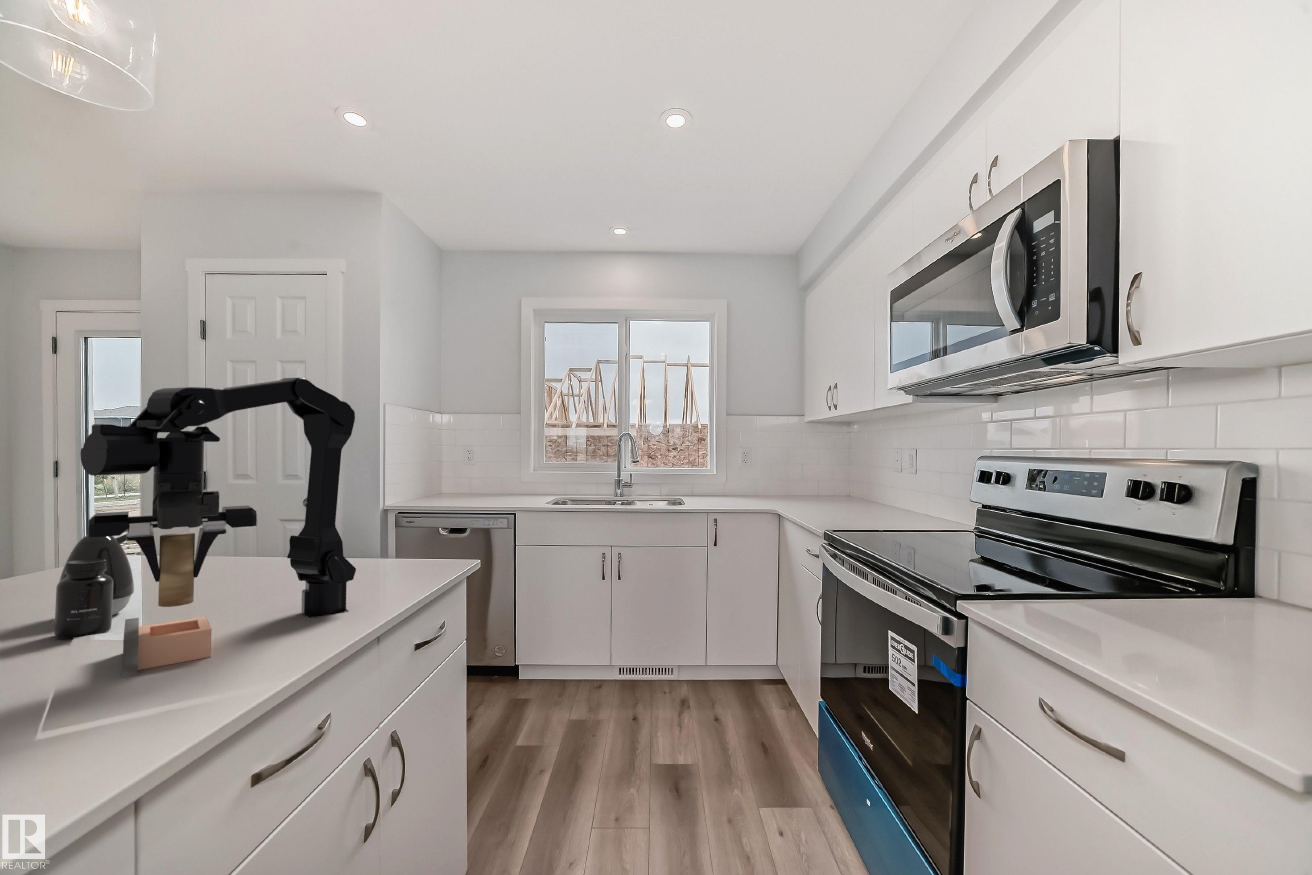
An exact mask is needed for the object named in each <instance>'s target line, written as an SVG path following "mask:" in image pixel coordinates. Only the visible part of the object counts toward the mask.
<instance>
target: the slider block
mask: <svg viewBox="0 0 1312 875" xmlns="http://www.w3.org/2000/svg"><path fill="white" fill-rule="evenodd" d="M211 657H212V626H211V625H210V621H209V619H208V616H203V617H197V618H188V619H182V620H175V621H168V622H161V623H156V624H149V625H148V624H147V625H142V626H140V625H139V637H138V671H140V670H145V669H152V668H157V667H163V666H168V665H172V664H178V663H183V662H184V663H185V662H189V661H194V660H200V659H206V658H211Z"/></svg>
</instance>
